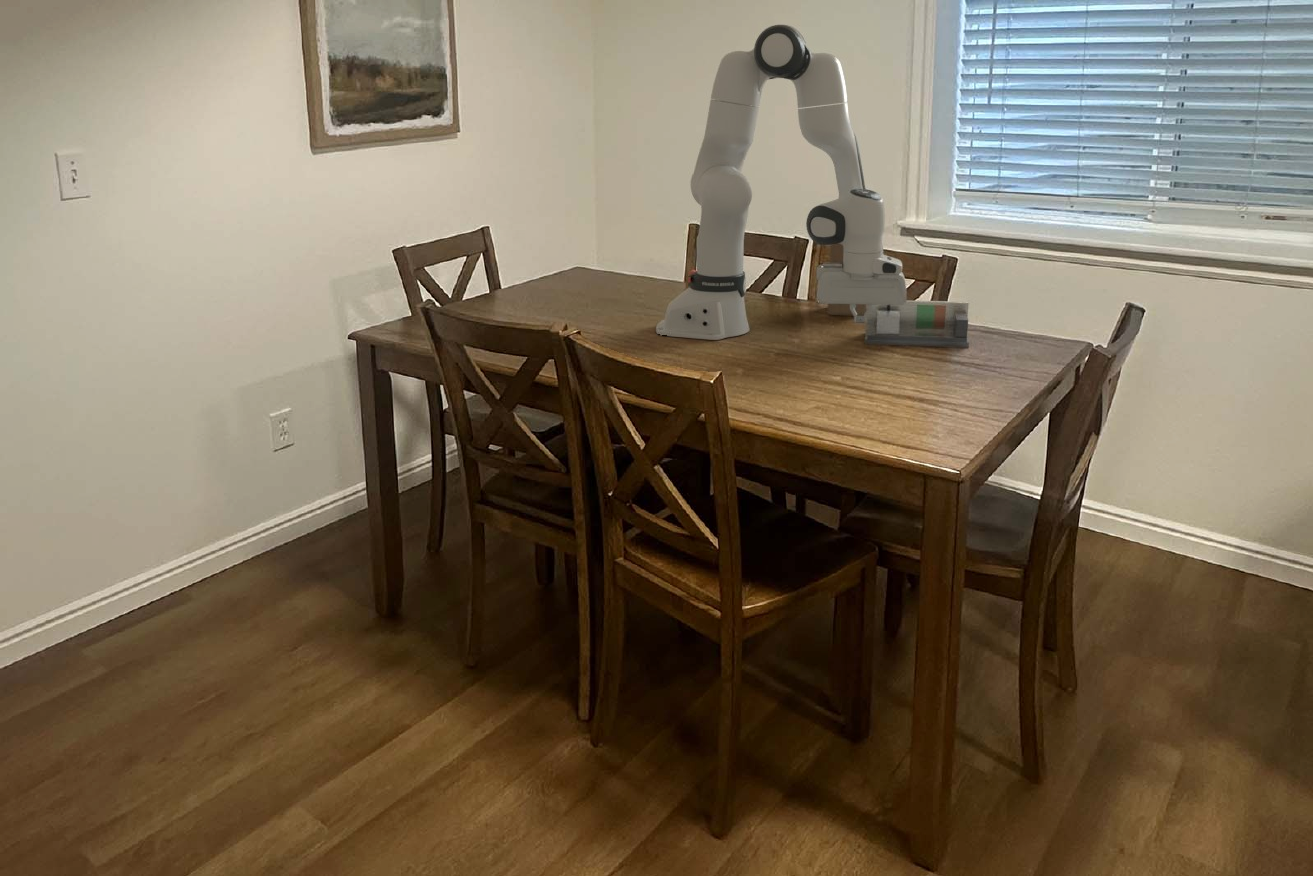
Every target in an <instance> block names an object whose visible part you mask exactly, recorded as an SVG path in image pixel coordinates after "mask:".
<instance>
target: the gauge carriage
mask: <svg viewBox="0 0 1313 876" xmlns="http://www.w3.org/2000/svg"><path fill="white" fill-rule="evenodd" d="M899 323H900V311H890V305H887V311H877V329H876V335H899Z"/></svg>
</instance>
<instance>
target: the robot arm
mask: <svg viewBox="0 0 1313 876" xmlns="http://www.w3.org/2000/svg"><path fill="white" fill-rule="evenodd" d="M753 47H754V48H752V50H749V51H742V50H736V51H735V50H734V51H731V52H729V53H727V54H725V55H724V56H723V57H722V59H721V60H720V63H719V65H718V68H717V71H716V74H715V78H714V82H713V86H712V91H711V95H710V101H709V108H708V112H707V113H708V114H707V119H706V126H705V130H704V131H705V132H704V135H703V139H702V143H701V147H700V149H699V153H698V156H697V158H696V163H695V166H694V171H693V174H692V175H691V178H690V191H691V193H692V197H693V199H694V200H695V202H696V203H697V204H698V205H699V206H700V207H701V208H700V209H701V212H700V213H701V214H700V223H699V229H698V235H697V236H696V270H695V269H692V270H690V272H689V273H688V275H687V276H688V277H687V278H688V279H687V283H688V288H686V289H685V290H684V291H682V292H681V293H679V295H677V296H676V297H675V298H674V299H672V300H671V301H670V302H669V304H668V305H667V307H666V311H665V316H664V319H662V320H660V321H659V322H658V323H657V325H656V326H655V332H656V334H657V335H658V334H660V335H659V336H662V335H667V336H666V337H676V338H687V339H698V340H709V341H710V340H711V341H712V340H713V341H719V340H722V339H725V338H730V337H731V338H732V337H737V336H741V335H744V334H747V333H748V332H750V330H751V329H750V325H749V322H748V317H747V312H746V303H745V294H746V287H747V286H746V283H747V282H746V272H745V270H744V247H745V245H744V242H745V241H744V240H745V233H746V226H747V222H748V217H749V216H748V215H749V208H750V205H751V201H752V197H753V192H752V188H751V184H750V182H749V181H748V178H747V177H746V176H745V175H744V174H743V173H742V170H743V169H742V168H743V166H744V163H745V160H746V157H747V155H748V152H749V149H750V148H751V146H752V144H753V142H754V137H755V131H756V125H757V119H758V113H759V107H760V104H761V103H760V101H761V95H762V91H763V88H764V85H765V84H766V82H767V81H768V80H774V79H785V80H790V81H791V82H792V84H793V85H794V88H795V92H796V99H797V101H796V102H797V103H796V104H797V117H798V124H799V127H800V132H801V136H802V137H803V138H804V139H805V140H806V141H807V143H809V144H810V145H812V146H813V147H815V148H817V149H819V150H821V151H823V152H825V153H826V154H827V155H828V156H829V158H830V160H831V161H832V163H833V166H834V172H835V179H836V185H837V190H838V191H837V192H838V197H837V199H834V200H832V201H827V202H823V203H821V204H819V205H816V206H814V207H813V208H812V209H811V210H810V211H809V213H808V214H807V218H806V222H805V223H806V231H807V234H808V236H809V237H810V239H811V240H812V241H813V242H814V244H817V245H819V246H825V247H826V246H828V247H830V245H834V244H842V245H843V247H844V252H843V263H829V262H823V263H822V264H819V265H818V266H817V267H816V270H815V273H816V275H815V278H816V280H817V282H818V285H817V292H816V293H817V294H816V300H817V302H818V303H819V304H827V305H828V304H850V310H851V312H852V314H853V316H852V317H853V323H854V324H866V323H867V316H868V315H869V313H870V312H871V310H872V305H903V304H904V303H905V302H906V300H907V285H906V278H905V275H904V273H903V272H902V271H903V262H902V261H901V260H900V258H899V259H898V258H896V257H892V256H889V255H886V254H884V245H883V236H884V233H885V223H886V221H885V220H886V219H885V202H884V199H883V197H882V195H881V194H880V193H878V192H876V191H874V190H871V189H866V185H865V178H864V172H863V165H862V160H861V155H860V154H861V153H860V147H859V143H858V139H857V136H856V134H855V132H854V130H853V127H852V123H851V120H850V114H849V113H850V112H849V104H848V93H847V92H848V91H847V86H846V85H847V84H846V80H845V79H846V78H845V74H844V71H843V70H844V69H843V67H842V63H841V61H840V59H838V58H837V56H835V55H833V54H830V53H828V52H827V53H825V52H818V53H816V52H815V53H814V52H811V50H810V49H809V48H808V46H807V44H806V41H805V39H804V36H803V35H802V34H801V33H800V31H799V30H798V29H797V28H795V27H793V26H792V25H789V24H788V25H787V24H775V25H771V26H769V27H766V28H765V29H764V30H763V31H761V33H760V34H759V35H758V37H757V38H756V39H755V44H754V46H753ZM842 267H843V269H842ZM856 304H866V309H867V310H866V312H865V314H857V313H856V311H855V308H856Z"/></svg>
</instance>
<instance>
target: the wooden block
mask: <svg viewBox="0 0 1313 876" xmlns="http://www.w3.org/2000/svg"><path fill="white" fill-rule="evenodd" d="M843 252H844V247H843V245H842V244H834V245H829V262H828V263H843ZM842 269H843V267H842ZM855 311H856V313H857V314H865V312H866V304H856V308H855ZM827 314H828V315H831V316H841V317H842V316H844V317H845V316H847V317H848V316H849V317H854V316H853V314H852V312H851V310H850V304H827Z"/></svg>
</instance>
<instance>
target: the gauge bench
mask: <svg viewBox="0 0 1313 876" xmlns="http://www.w3.org/2000/svg"><path fill="white" fill-rule="evenodd" d="M969 305H970V303H969V301H950V300H949V301H947V300H946V301H945V300H944V301H943V300H908V299H906V302H905V303H904V304H903V305H890V311H900V323H899V335H876V329H877V311H887V305H872V310H871V312H870V313H869V315H868V316H867V323H865V334H864V338H865V339H864V345H873V346H874V345H875V346H876V345H879V346H905V347H906V346H907V347H909V346H910V347H935V348H937V347H939V348H940V347H943V348H967V349H968V348H969V347H970V341H969V338H968V329H969V318H968V316H969ZM866 310H867V309H866Z"/></svg>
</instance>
